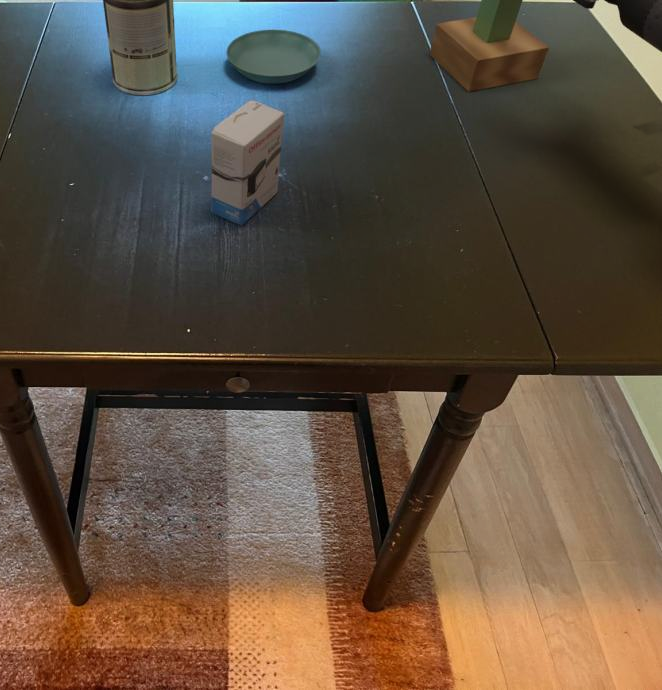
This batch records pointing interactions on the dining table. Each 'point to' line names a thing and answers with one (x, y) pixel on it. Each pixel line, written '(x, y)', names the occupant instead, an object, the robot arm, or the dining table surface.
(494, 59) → the wooden block
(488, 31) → the toy tower
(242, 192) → the ink box
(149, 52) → the coffee can
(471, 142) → the dining table surface
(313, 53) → the saucer
